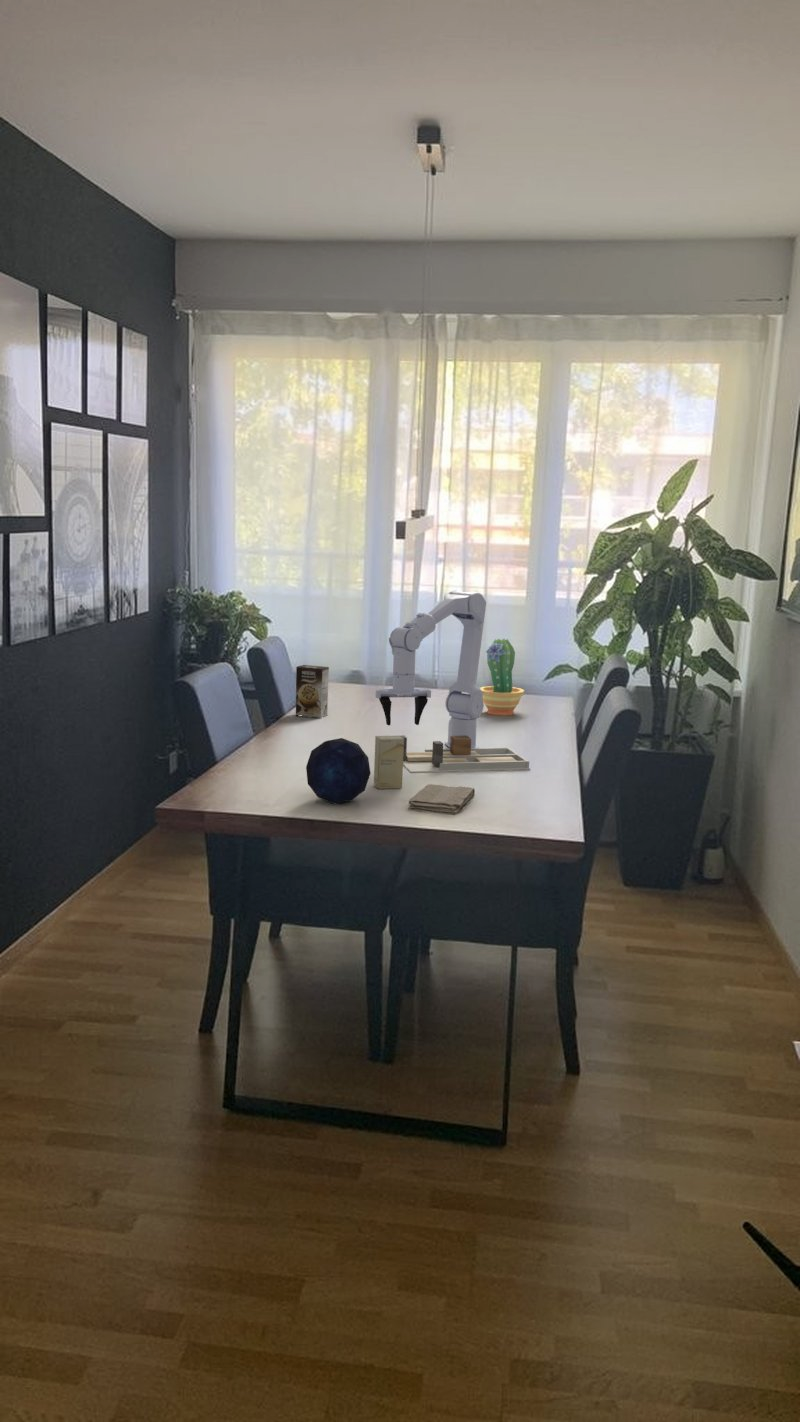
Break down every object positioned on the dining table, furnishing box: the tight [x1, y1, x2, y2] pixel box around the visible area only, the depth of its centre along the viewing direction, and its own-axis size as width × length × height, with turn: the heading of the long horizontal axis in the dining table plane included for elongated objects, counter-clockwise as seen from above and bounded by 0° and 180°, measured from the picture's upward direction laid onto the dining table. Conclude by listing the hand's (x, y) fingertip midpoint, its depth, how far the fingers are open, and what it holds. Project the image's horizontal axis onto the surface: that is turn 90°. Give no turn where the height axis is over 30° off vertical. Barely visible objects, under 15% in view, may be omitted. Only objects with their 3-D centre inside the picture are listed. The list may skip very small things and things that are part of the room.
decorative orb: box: [305, 737, 371, 804], centre depth 234 cm, size 14×15×15 cm
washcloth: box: [408, 783, 476, 815], centre depth 236 cm, size 12×18×3 cm, turn 164°
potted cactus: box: [479, 638, 525, 716], centre depth 347 cm, size 15×15×25 cm
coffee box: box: [295, 664, 330, 719], centre depth 334 cm, size 9×6×16 cm
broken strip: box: [432, 740, 517, 766], centre depth 271 cm, size 6×22×6 cm, turn 102°
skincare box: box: [373, 735, 404, 790], centre depth 247 cm, size 6×4×12 cm
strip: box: [400, 735, 480, 761], centre depth 277 cm, size 6×22×6 cm, turn 103°
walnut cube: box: [449, 735, 471, 755], centre depth 278 cm, size 4×4×4 cm
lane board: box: [403, 746, 531, 774], centre depth 275 cm, size 18×32×2 cm, turn 102°
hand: (402, 724), depth 274 cm, fingers open, 7 cm apart
